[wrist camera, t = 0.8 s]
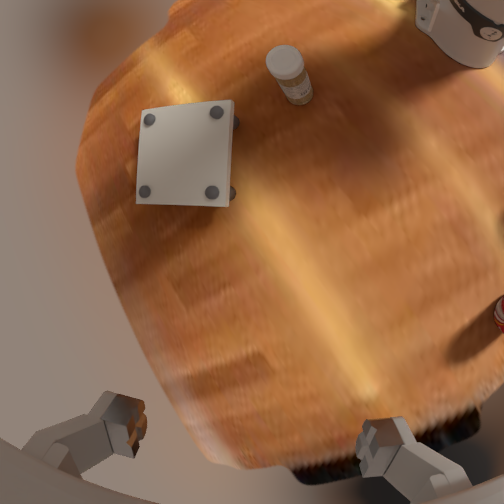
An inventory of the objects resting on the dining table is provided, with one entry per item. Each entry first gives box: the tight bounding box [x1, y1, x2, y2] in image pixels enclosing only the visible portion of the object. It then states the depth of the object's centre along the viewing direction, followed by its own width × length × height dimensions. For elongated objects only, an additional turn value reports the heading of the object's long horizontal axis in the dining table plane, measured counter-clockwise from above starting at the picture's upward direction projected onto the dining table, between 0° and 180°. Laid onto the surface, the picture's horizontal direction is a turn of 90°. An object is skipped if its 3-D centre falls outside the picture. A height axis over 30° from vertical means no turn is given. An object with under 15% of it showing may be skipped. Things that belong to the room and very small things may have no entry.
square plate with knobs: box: [136, 100, 239, 207], centre depth 48 cm, size 16×16×7 cm
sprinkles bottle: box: [266, 45, 313, 105], centre depth 38 cm, size 5×5×13 cm
